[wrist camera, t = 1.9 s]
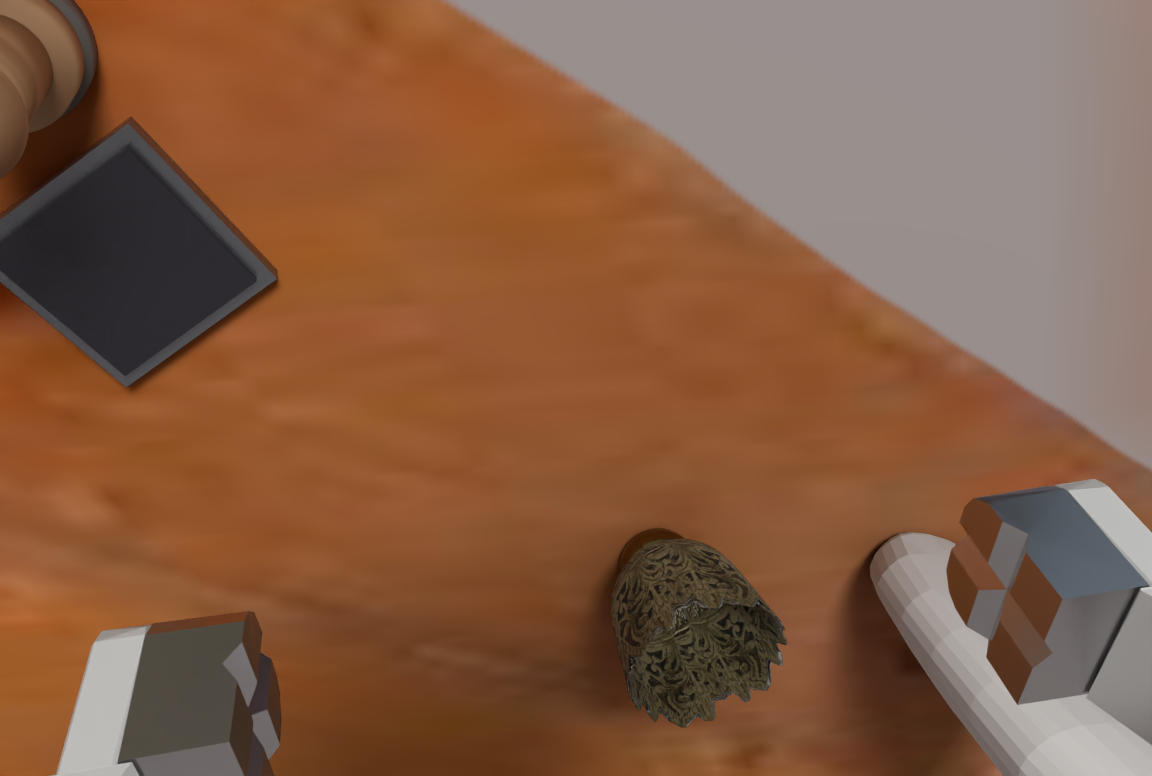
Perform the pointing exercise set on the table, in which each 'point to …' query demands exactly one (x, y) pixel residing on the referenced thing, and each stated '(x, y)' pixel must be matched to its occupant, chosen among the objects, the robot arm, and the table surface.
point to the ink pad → (127, 254)
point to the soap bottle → (994, 678)
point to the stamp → (40, 68)
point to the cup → (689, 628)
